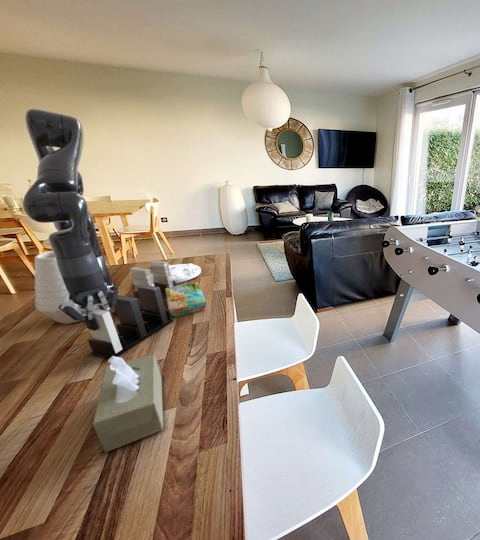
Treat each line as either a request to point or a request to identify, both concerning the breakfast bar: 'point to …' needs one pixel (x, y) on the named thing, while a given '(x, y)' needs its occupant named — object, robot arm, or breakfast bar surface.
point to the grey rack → (135, 321)
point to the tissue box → (129, 402)
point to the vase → (51, 289)
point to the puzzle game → (185, 299)
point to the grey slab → (160, 279)
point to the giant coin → (183, 272)
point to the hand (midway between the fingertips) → (101, 325)
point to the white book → (105, 329)
